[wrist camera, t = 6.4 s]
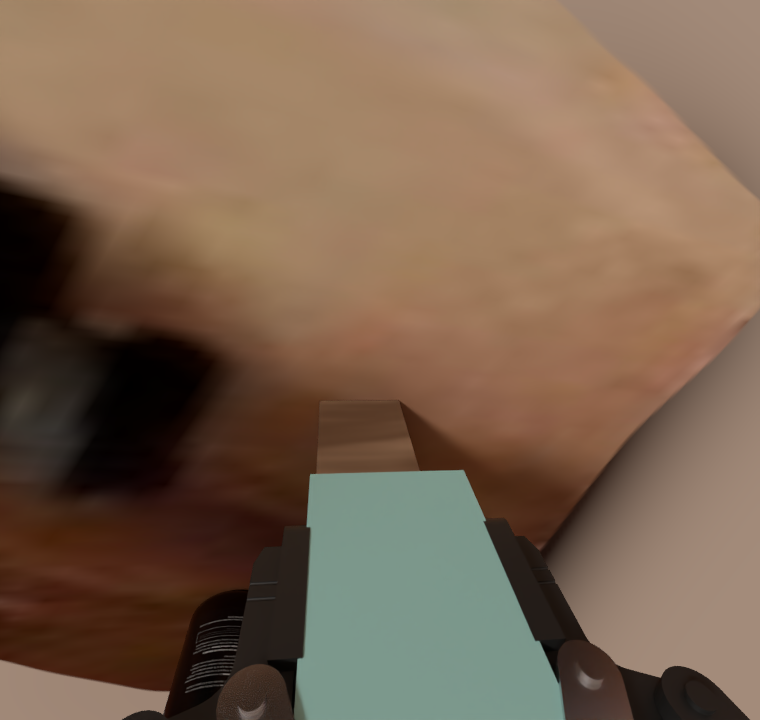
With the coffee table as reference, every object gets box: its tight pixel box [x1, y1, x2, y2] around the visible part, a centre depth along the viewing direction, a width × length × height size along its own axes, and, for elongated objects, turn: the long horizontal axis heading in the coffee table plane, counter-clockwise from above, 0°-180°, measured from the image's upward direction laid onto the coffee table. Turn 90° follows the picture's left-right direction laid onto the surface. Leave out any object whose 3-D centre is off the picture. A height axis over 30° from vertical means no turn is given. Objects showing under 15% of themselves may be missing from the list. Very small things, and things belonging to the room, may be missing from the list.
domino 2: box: [294, 470, 563, 720], centre depth 10 cm, size 2×5×9 cm, turn 87°
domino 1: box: [316, 400, 420, 474], centre depth 23 cm, size 2×5×9 cm, turn 87°
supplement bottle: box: [163, 591, 248, 719], centre depth 28 cm, size 7×7×12 cm
